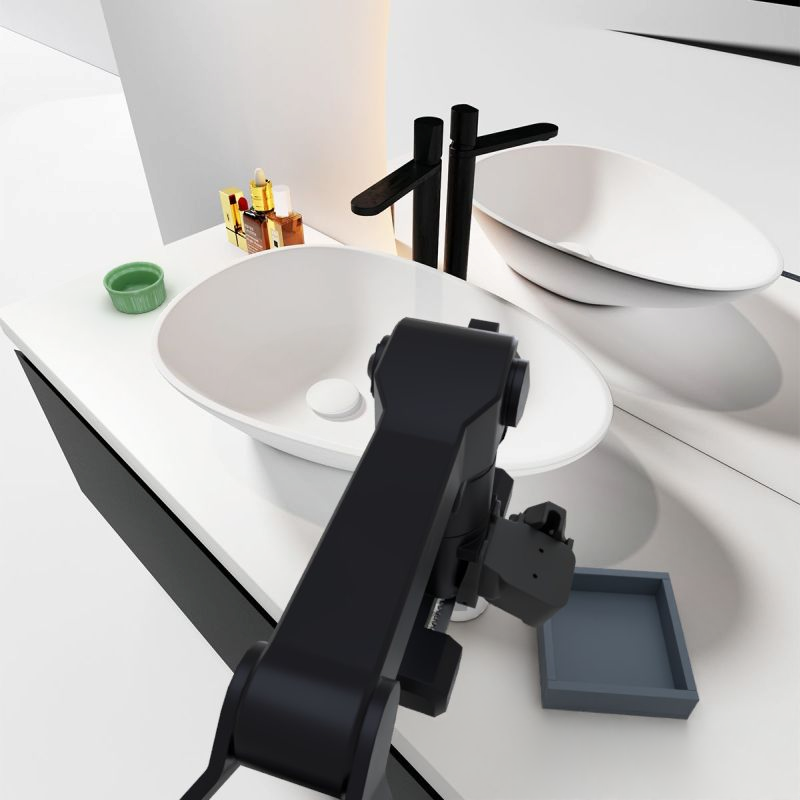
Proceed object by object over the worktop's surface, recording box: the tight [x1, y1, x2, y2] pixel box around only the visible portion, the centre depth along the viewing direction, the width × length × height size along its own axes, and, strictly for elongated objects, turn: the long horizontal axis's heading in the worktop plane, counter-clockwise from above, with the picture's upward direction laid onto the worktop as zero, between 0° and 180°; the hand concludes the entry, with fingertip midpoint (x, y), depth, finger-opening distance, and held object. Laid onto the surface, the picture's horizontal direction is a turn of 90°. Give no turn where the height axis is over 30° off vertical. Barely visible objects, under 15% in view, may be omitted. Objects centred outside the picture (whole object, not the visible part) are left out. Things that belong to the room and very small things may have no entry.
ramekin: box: [102, 261, 167, 314], centre depth 109 cm, size 9×9×4 cm
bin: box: [536, 566, 700, 720], centre depth 65 cm, size 13×13×4 cm
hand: (436, 632), depth 53 cm, fingers open, 9 cm apart
